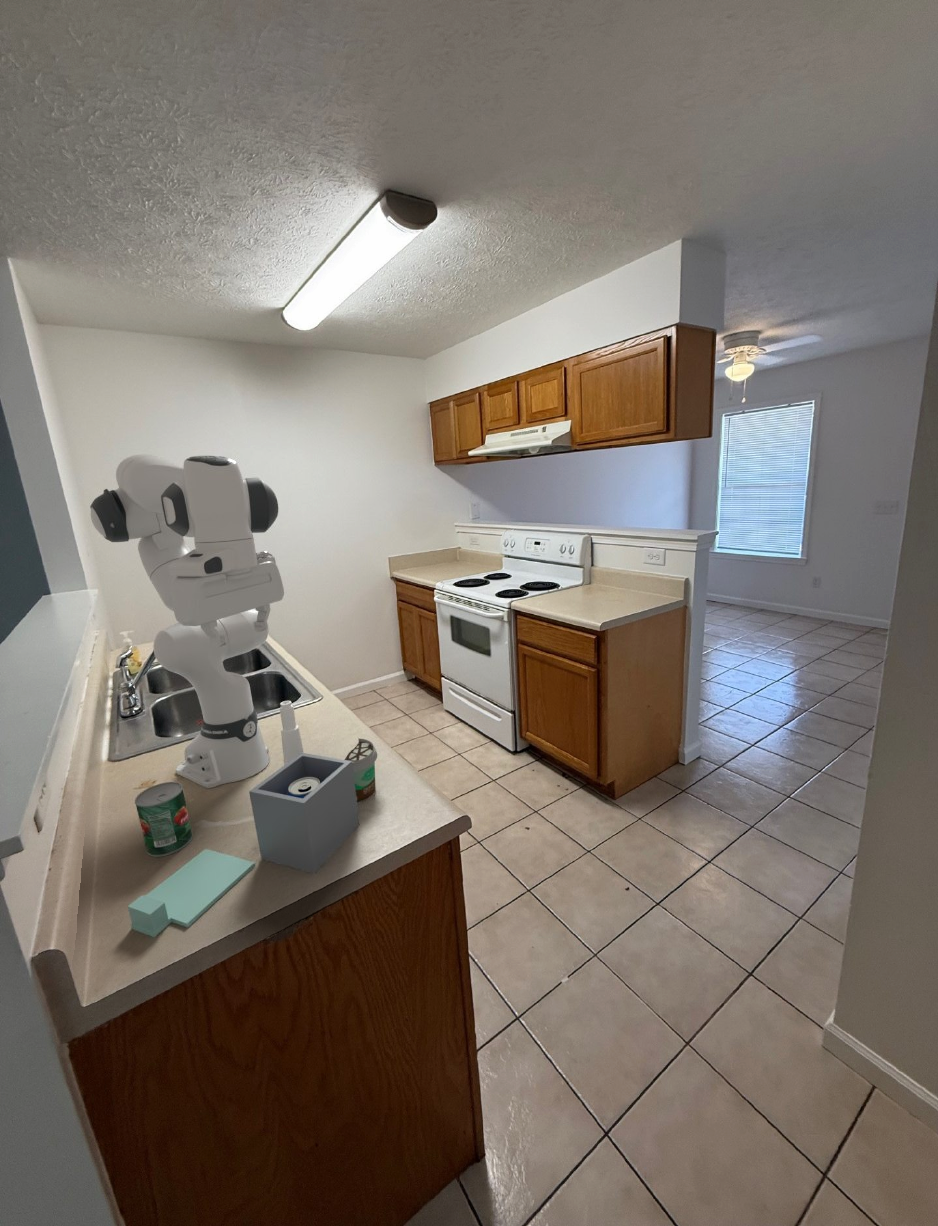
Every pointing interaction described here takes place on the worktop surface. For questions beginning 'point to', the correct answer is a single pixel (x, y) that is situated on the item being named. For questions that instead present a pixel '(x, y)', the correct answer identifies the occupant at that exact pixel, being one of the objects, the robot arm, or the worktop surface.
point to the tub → (305, 812)
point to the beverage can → (303, 787)
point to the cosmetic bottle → (290, 733)
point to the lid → (187, 892)
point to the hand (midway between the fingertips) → (241, 638)
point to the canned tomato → (164, 818)
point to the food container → (363, 768)
